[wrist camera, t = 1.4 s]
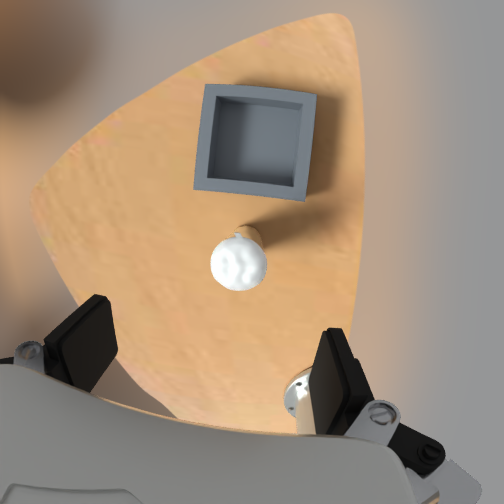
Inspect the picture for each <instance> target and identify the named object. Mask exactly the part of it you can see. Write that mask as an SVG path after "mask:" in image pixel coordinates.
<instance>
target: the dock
mask: <svg viewBox="0 0 504 504" xmlns="http://www.w3.org/2000/svg"><path fill="white" fill-rule="evenodd" d="M316 100H317V94H312V93H306V92H300V91H293V90H286V89H277V88H268V87H258V86H245V85H226V84H205V90H204V97H203V104H202V111H201V119H200V127H199V136H198V145H197V155H196V165H195V176H194V188H193V190H204V191H215V192H226V193H236V194H246V195H255V196H264V197H272V198H280V199H288V200H295V201H303V202H305V198H306V190H307V183H308V175H309V167H310V158H311V149H312V140H313V131H314V121H315V111H316Z"/></svg>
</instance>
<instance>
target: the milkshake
mask: <svg viewBox="0 0 504 504" xmlns="http://www.w3.org/2000/svg"><path fill="white" fill-rule="evenodd" d="M266 270H267V259H266V255H265V253H264V250H263V245H262V240H261V236H260V235H259V233H258V232H257V230H256V229H255V228H253V227H250V226H248V225H245V226H241V227H237V228H236V229H235V230H234V231H233V232H232V233H231V234H230V235H229V236H228V237H227V238H226V239H225V240H223V241H222V242H221V243H220V244H219V245H218V246H217V247H216V248H215V250H214V251H213V253H212V257H211V271H212V274H213V276H214V278H215V279H216V280H217V281H218V282H219V283H220V284H222V285H223V286H224V287H226V288H228V289H231V290H237V291H243V290H248V289H251V288H253V287H255V286H256V285H258V284H259V283H260V282H261V281H262V280H263V278H264V276H265V274H266Z"/></svg>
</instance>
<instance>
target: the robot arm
mask: <svg viewBox="0 0 504 504" xmlns="http://www.w3.org/2000/svg"><path fill="white" fill-rule="evenodd" d="M44 342H45V345H44V346H42V345H41V343H39V342H37V341H27V342H24V343H21V344H20V345H19V346H18V347H17V348H16V350H15V353H14V357H9V358H4V359H0V504H476V503H477V501H478V500H479V498H480V496H481V492H482V488H481V485H480V484H479V482H478V481H477V480H475V479H474V478H473V477H472V476H471V475H469V474H468V473H467V472H466V471H465V470H463V469H462V468H461V467H460V466H458V465H457V464H456V463H455V462H454V461H453V460H449V461H447V460H446V459H445V456H446V455H445V450H444V448H443V446H442V445H441V444H440V443H439V442H437V441H436V440H434V439H432V438H430V437H428V436H425V435H423V434H421V433H419V432H417V431H415V430H413V429H411V428H409V427H407V426H405V425H403V424H401V423H400V418H401V416H400V412H399V410H398V408H397V407H396V406H395V405H393V404H392V403H390V402H388V401H385V400H375V399H374V397H373V394H372V392H371V390H370V387H369V384H368V382H367V379H366V377H365V374H364V372H363V369H362V367H361V364H360V362H359V360H358V359H356V358H354V357H353V354H352V352H351V349H350V347H349V344H348V342H347V339H346V337H345V335H344V332H343V330H342V329H341V328H328V329H327V331H323V332H322V336H321V339H320V343H319V346H318V350H317V353H316V356H315V360H314V363H313V366H312V368H309V369H307V370H305V371H303V372H301V373H300V374H299V375H297V376H296V377H295V378H294V379H292V380H291V381H290V383H289V384H288V385H287V387H286V389H285V392H284V405H285V408H286V410H287V411H288V413H290V414H291V415H292V416H293V417H295V418H296V426H297V434H292V433H275V432H262V431H250V430H241V429H233V428H225V427H219V426H212V425H206V424H201V423H195V422H190V421H185V420H180V419H175V418H171V417H167V416H163V415H159V414H154V413H151V412H147V411H143V410H140V409H136V408H133V407H130V406H126V405H123V404H120V403H117V402H114V401H111V400H108V399H105V398H102V397H99V396H97V395H94V394H91V393H90V392H91V390H92V389H93V388H94V386H95V385H96V383H97V382H98V380H99V379H100V377H101V376H102V374H103V373H104V371H105V370H106V369H107V367H108V366H109V365H110V363H111V362H112V360H113V359H114V358H115V356H116V355H117V352H118V346H117V341H116V335H115V329H114V323H113V317H112V310H111V303H110V301H109V300H108V299H107V297H106V296H102V295H97V294H94V295H93V296H92V297H91V298H89V299H88V300H87V301H86V302H85V303H84V304H82V305H81V306H80V307H79V308H78V309H77V310H76V311H74V312H73V313H72V314H71V315H70V316H69V317H68V318H66V319H65V320H64V321H63V322H62V323H61V324H60V325H59V326H57V327H56V328H55V329H54V330H53V331H52V332H51V333H50V334H49V335H48V336H47V337H45V338H44Z"/></svg>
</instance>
